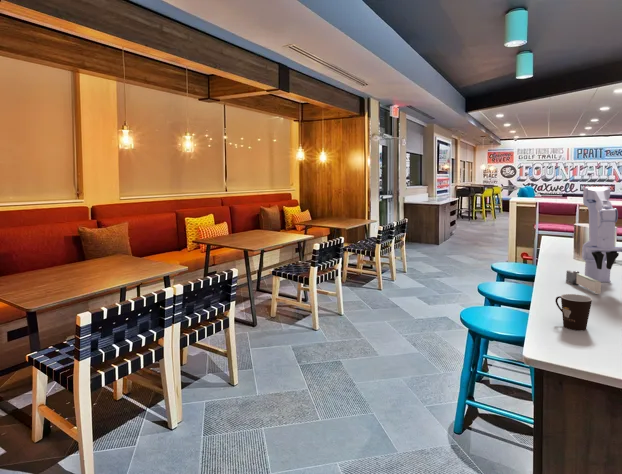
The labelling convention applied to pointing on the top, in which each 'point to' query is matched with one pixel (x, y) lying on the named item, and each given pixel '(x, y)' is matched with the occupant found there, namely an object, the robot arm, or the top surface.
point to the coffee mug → (575, 310)
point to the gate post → (572, 277)
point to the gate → (589, 283)
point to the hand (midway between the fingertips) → (604, 268)
